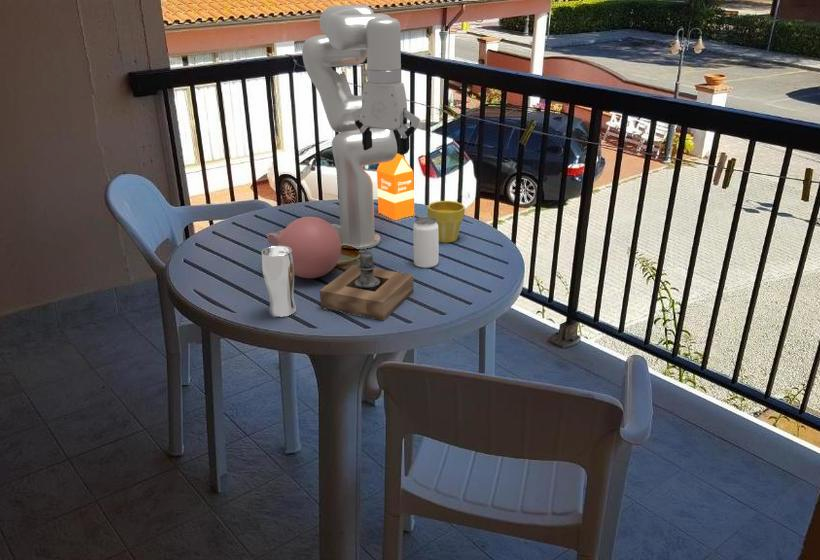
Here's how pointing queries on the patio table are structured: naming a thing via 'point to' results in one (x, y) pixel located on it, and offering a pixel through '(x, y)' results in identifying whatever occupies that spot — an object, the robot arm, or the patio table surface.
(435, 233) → the can
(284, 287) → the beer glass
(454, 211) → the plant pot
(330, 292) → the socket block
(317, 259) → the pink party balloon
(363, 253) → the grey chess piece
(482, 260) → the patio table surface
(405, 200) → the orange juice
